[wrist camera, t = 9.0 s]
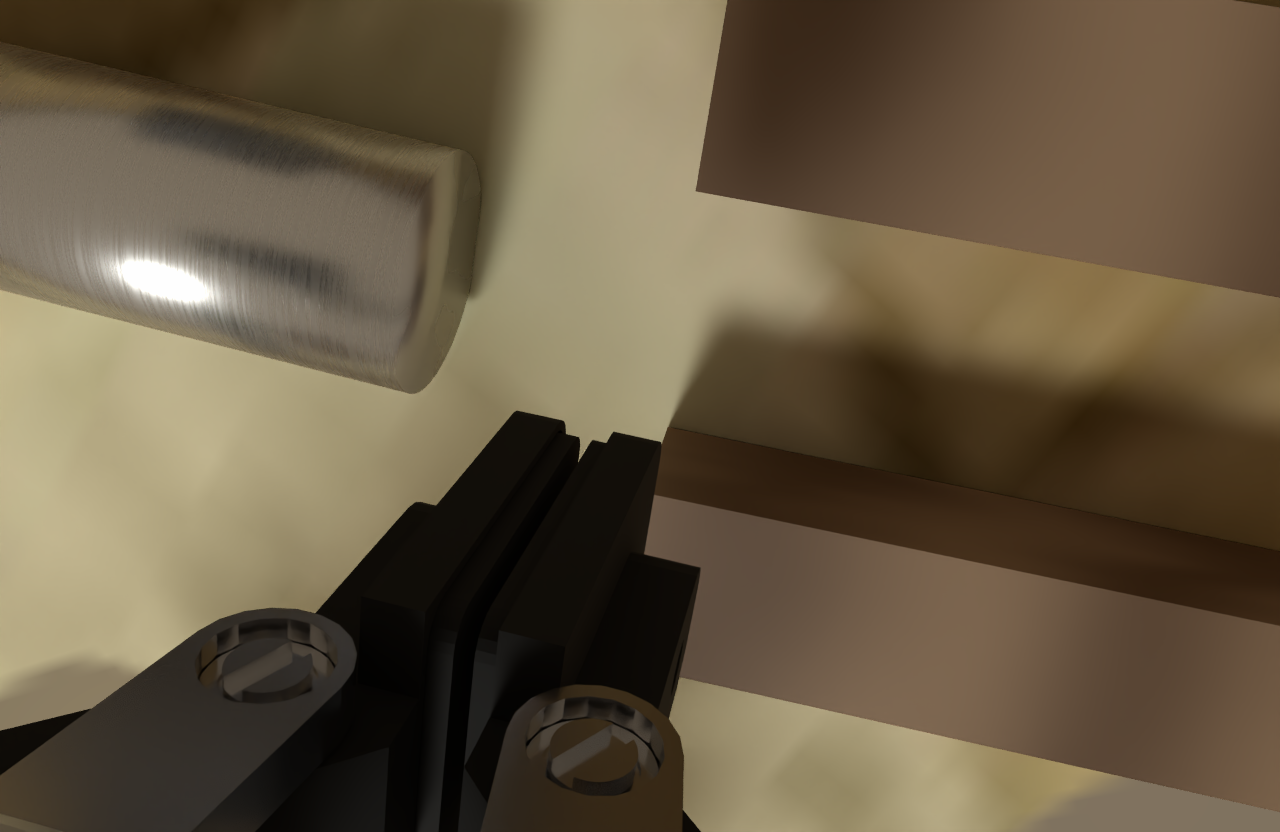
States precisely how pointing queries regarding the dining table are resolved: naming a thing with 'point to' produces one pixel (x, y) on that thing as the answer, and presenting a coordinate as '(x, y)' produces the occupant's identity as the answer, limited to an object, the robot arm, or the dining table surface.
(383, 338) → the axle
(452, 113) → the dining table surface
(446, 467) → the dining table surface
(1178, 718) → the parallel rectangular beams
